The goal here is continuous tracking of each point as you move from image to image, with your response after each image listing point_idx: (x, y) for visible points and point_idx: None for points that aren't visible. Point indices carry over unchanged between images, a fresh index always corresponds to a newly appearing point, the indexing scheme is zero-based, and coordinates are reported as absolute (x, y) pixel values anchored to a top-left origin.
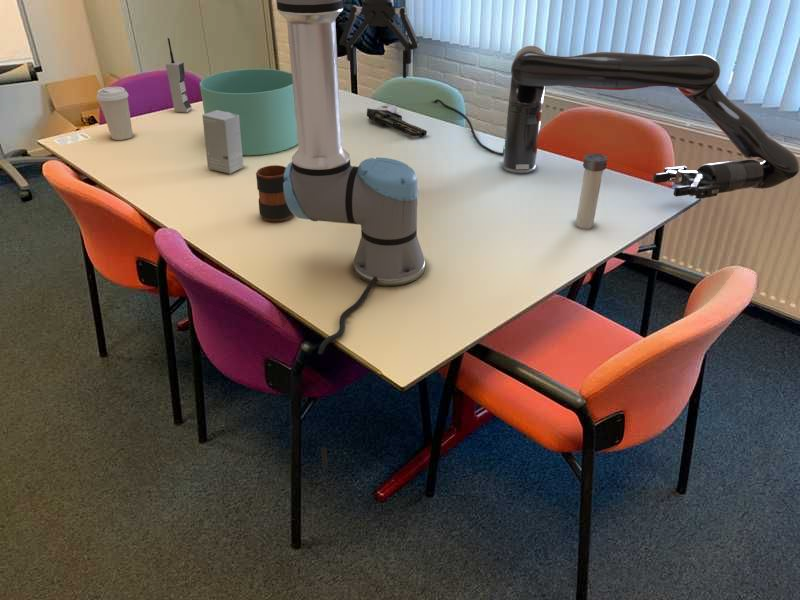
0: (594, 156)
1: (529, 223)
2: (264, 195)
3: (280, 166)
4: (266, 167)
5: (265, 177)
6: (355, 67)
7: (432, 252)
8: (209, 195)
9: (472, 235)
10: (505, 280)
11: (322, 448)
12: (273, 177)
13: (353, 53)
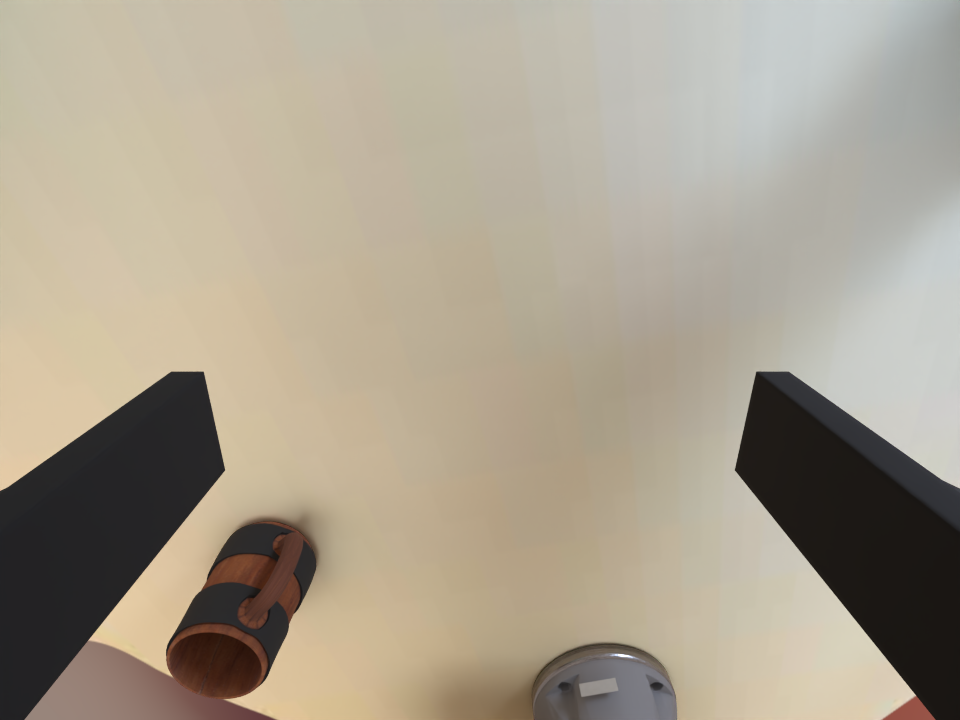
0: None
1: (947, 476)
2: (237, 643)
3: (218, 631)
4: (177, 641)
5: (221, 696)
6: (176, 453)
7: (684, 632)
8: (14, 480)
9: (781, 556)
10: (826, 691)
11: None
12: (244, 693)
13: (62, 663)
